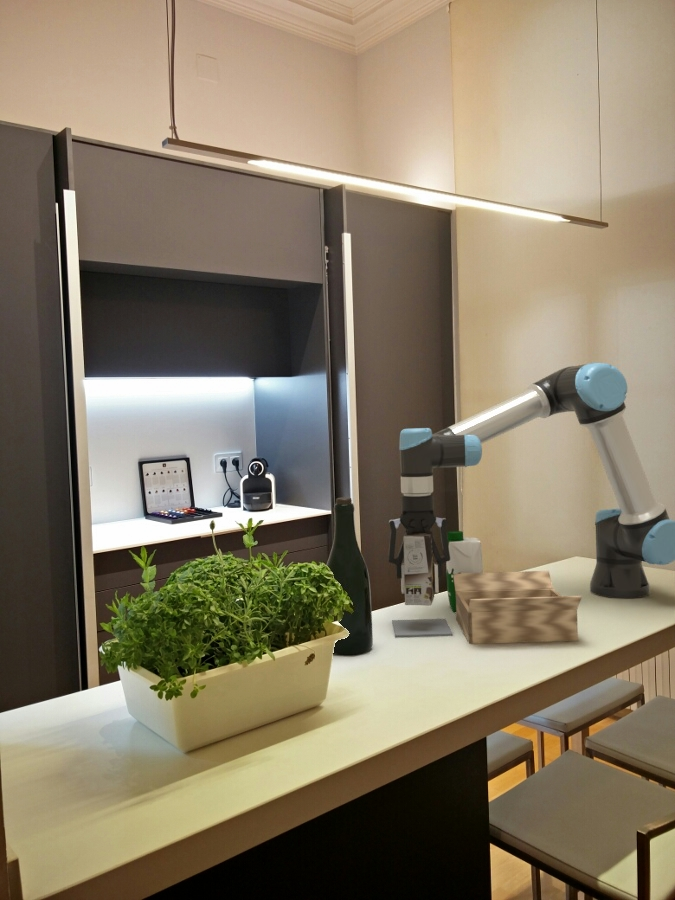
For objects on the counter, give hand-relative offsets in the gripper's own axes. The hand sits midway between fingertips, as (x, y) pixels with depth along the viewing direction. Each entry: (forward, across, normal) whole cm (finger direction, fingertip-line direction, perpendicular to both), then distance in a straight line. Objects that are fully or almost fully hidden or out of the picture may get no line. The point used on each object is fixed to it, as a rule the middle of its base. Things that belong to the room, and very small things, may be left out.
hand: (419, 591), depth 177 cm
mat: (+9, 0, 0) cm, 9 cm away
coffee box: (+2, 0, 0) cm, 2 cm away
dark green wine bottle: (+9, +17, +14) cm, 24 cm away
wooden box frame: (+9, -21, +3) cm, 23 cm away
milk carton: (+9, -13, -17) cm, 23 cm away
